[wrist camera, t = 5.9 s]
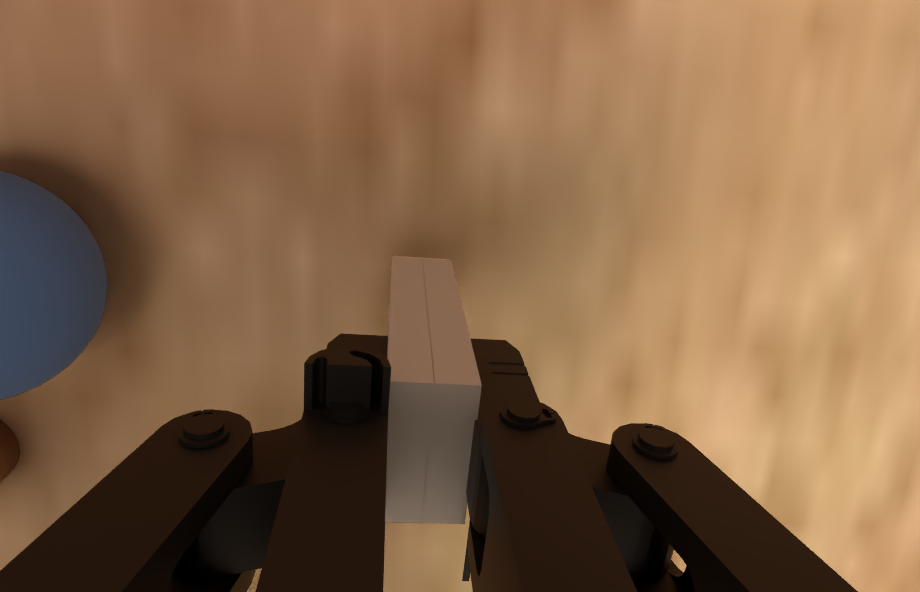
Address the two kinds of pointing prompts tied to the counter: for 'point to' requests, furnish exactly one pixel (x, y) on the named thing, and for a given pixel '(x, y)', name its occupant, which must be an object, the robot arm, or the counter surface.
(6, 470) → the gate post
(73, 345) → the ball
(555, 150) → the counter surface
